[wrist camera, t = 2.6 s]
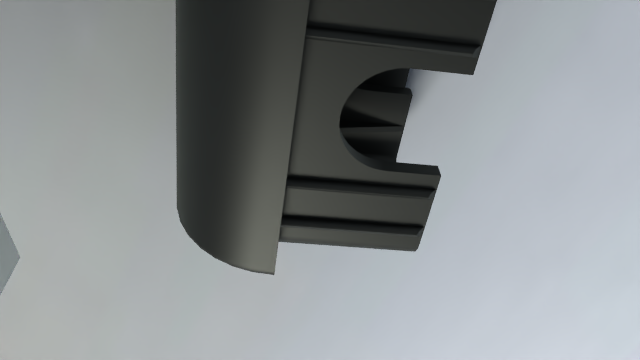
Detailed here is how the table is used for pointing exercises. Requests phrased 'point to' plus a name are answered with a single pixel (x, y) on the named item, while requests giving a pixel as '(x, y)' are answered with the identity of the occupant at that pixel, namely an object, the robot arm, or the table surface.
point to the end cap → (308, 120)
